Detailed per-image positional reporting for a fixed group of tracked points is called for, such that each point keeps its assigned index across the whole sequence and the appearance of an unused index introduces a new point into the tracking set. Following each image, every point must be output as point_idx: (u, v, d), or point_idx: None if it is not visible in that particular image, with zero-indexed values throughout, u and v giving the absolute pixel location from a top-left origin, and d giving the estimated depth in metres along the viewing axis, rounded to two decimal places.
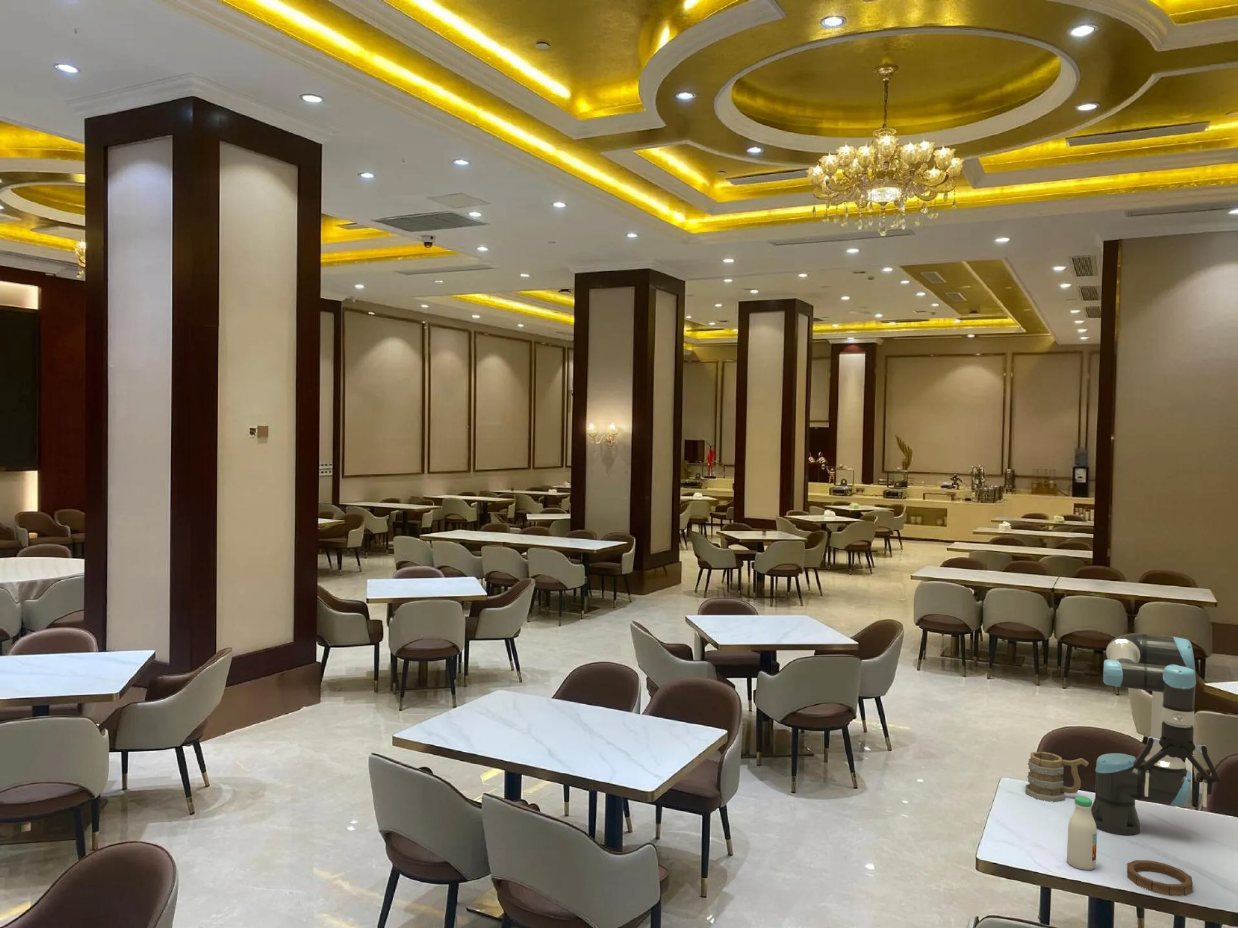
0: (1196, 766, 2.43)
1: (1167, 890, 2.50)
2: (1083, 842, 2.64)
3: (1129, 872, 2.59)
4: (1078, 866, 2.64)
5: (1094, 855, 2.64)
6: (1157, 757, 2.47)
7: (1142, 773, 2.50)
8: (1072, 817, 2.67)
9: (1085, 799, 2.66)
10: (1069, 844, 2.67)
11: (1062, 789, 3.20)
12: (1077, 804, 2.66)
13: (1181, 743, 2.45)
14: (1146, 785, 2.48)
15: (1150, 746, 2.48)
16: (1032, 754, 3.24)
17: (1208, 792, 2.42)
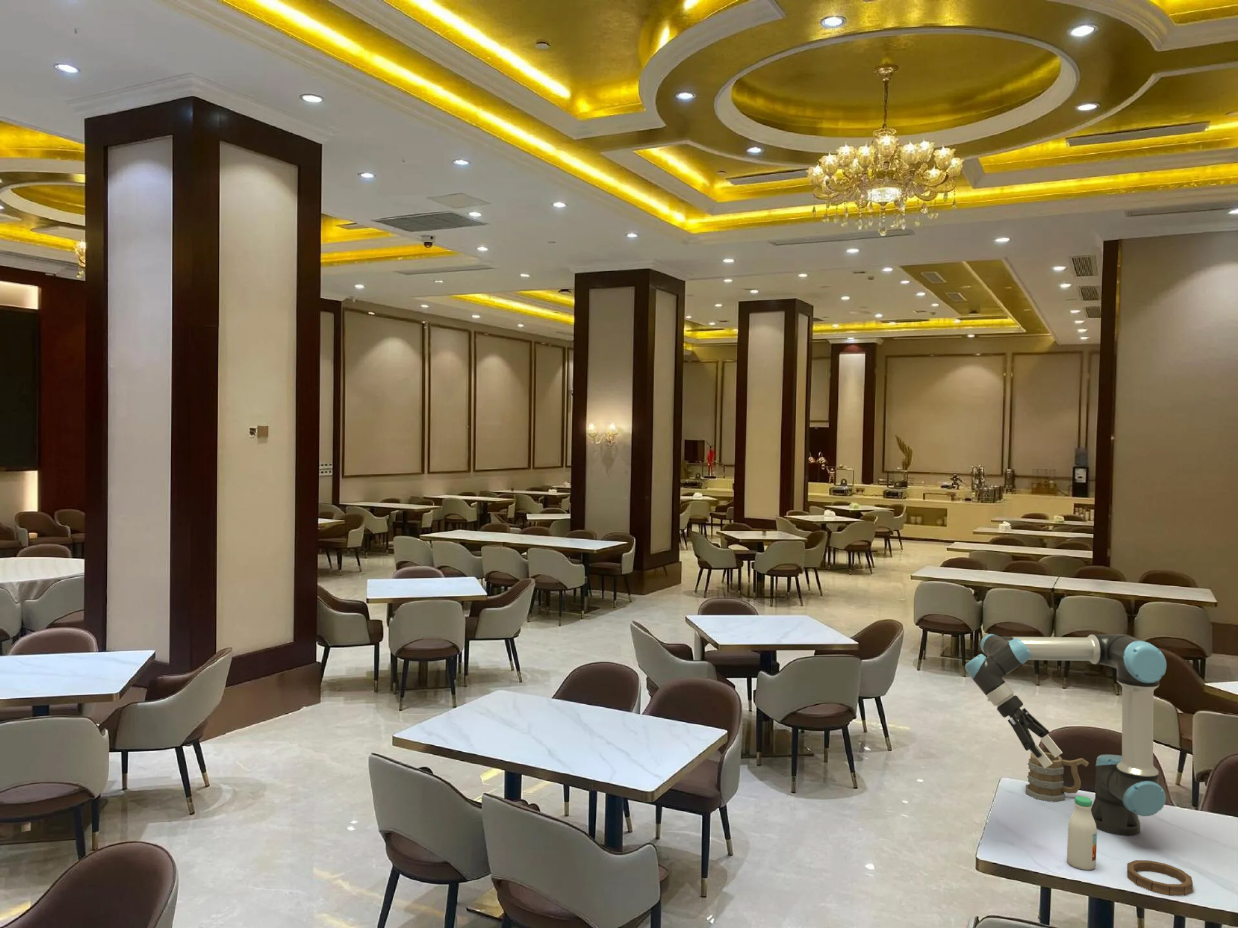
0: None
1: (1167, 890, 2.50)
2: (1083, 842, 2.64)
3: (1129, 872, 2.59)
4: (1078, 866, 2.64)
5: (1094, 855, 2.64)
6: None
7: None
8: (1072, 817, 2.67)
9: (1085, 799, 2.66)
10: (1069, 844, 2.67)
11: (1062, 789, 3.20)
12: (1077, 804, 2.66)
13: None
14: None
15: None
16: (1032, 754, 3.24)
17: None
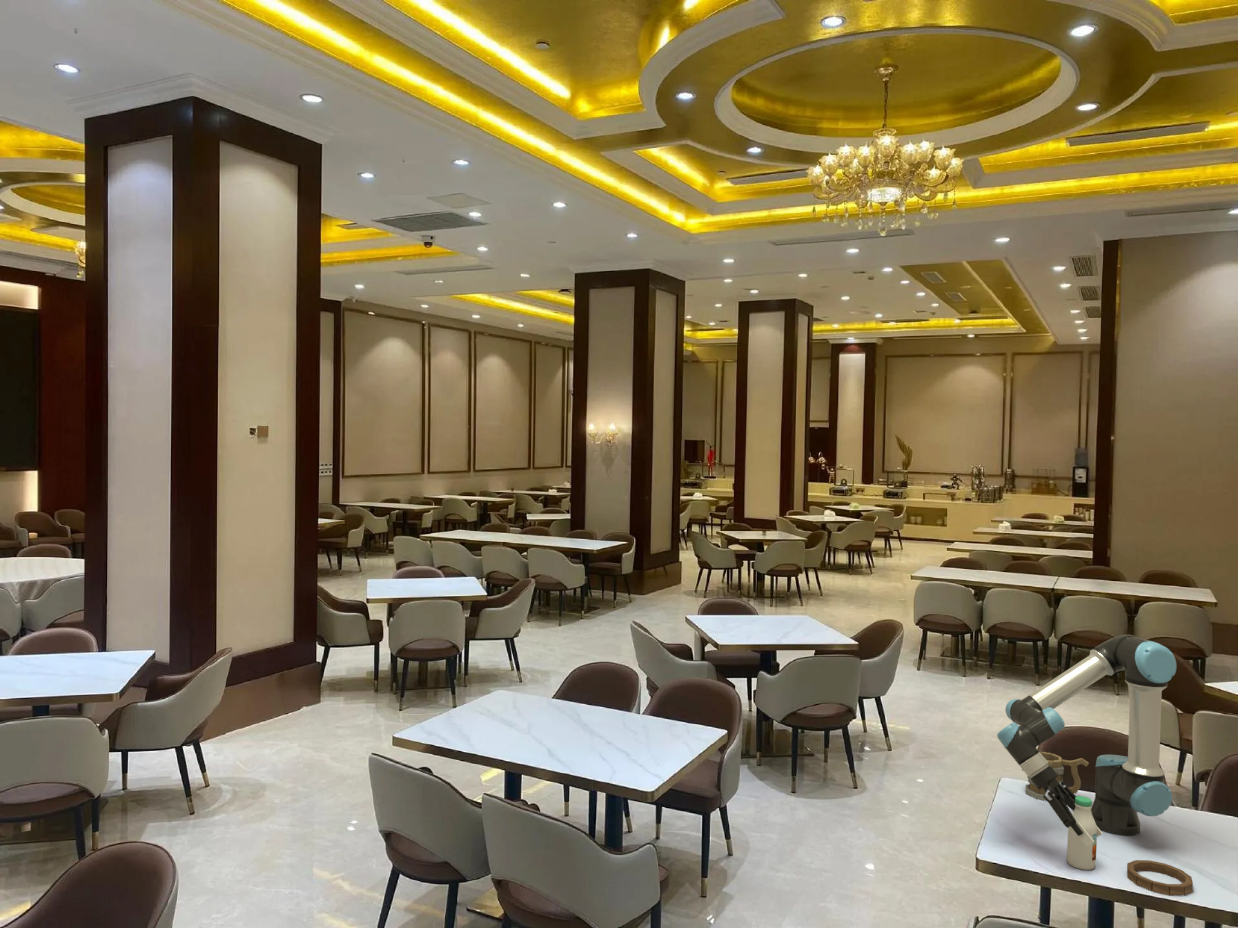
0: None
1: (1167, 890, 2.50)
2: None
3: (1129, 872, 2.59)
4: (1078, 866, 2.64)
5: (1094, 855, 2.64)
6: None
7: None
8: None
9: (1085, 799, 2.66)
10: (1069, 844, 2.67)
11: None
12: (1077, 804, 2.66)
13: None
14: None
15: None
16: None
17: None
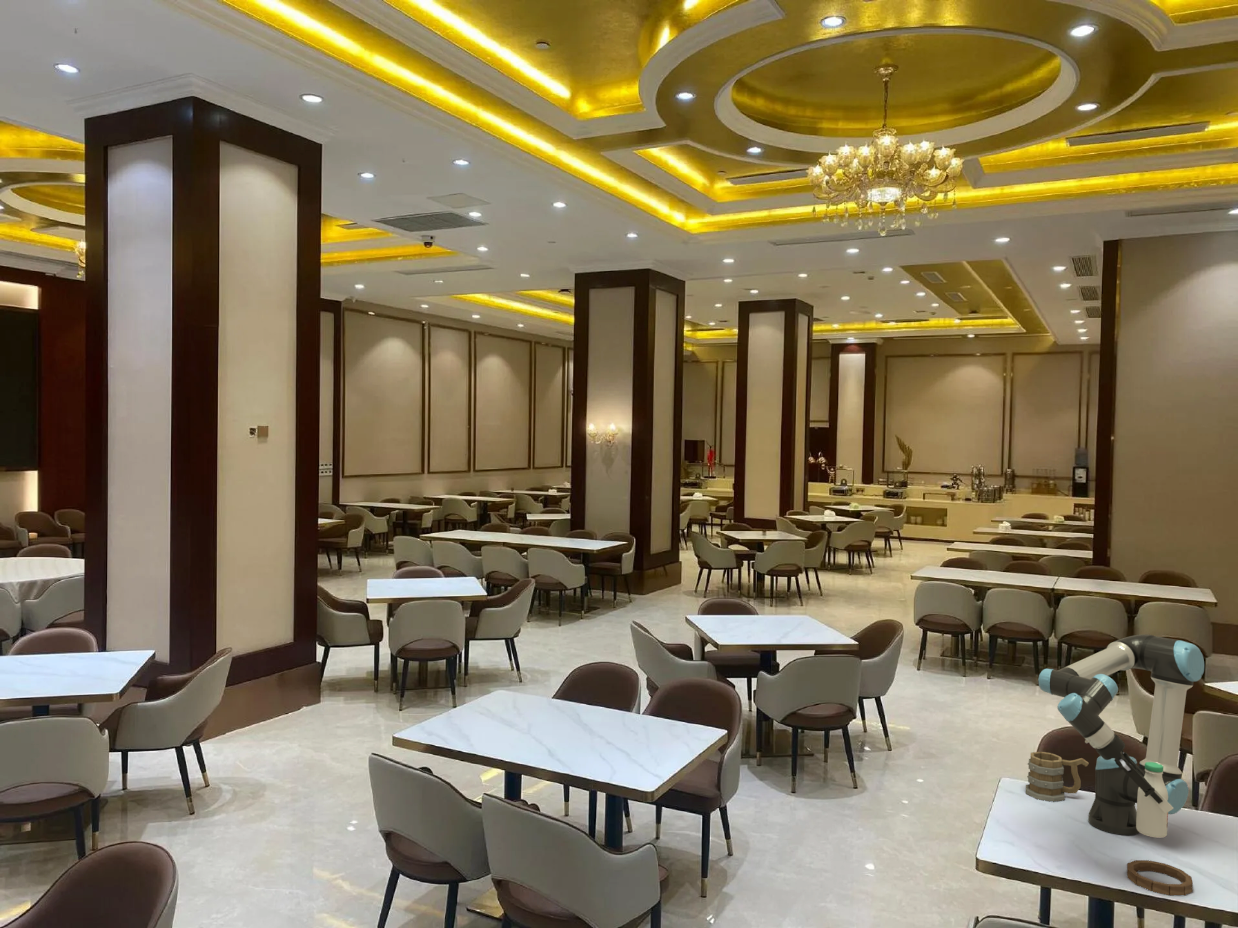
0: None
1: (1167, 890, 2.50)
2: (1160, 810, 2.54)
3: (1129, 872, 2.59)
4: (1155, 835, 2.55)
5: (1167, 821, 2.56)
6: None
7: None
8: None
9: (1156, 765, 2.57)
10: (1143, 813, 2.57)
11: (1062, 789, 3.20)
12: (1150, 771, 2.56)
13: None
14: None
15: None
16: (1032, 754, 3.24)
17: (1157, 801, 2.53)
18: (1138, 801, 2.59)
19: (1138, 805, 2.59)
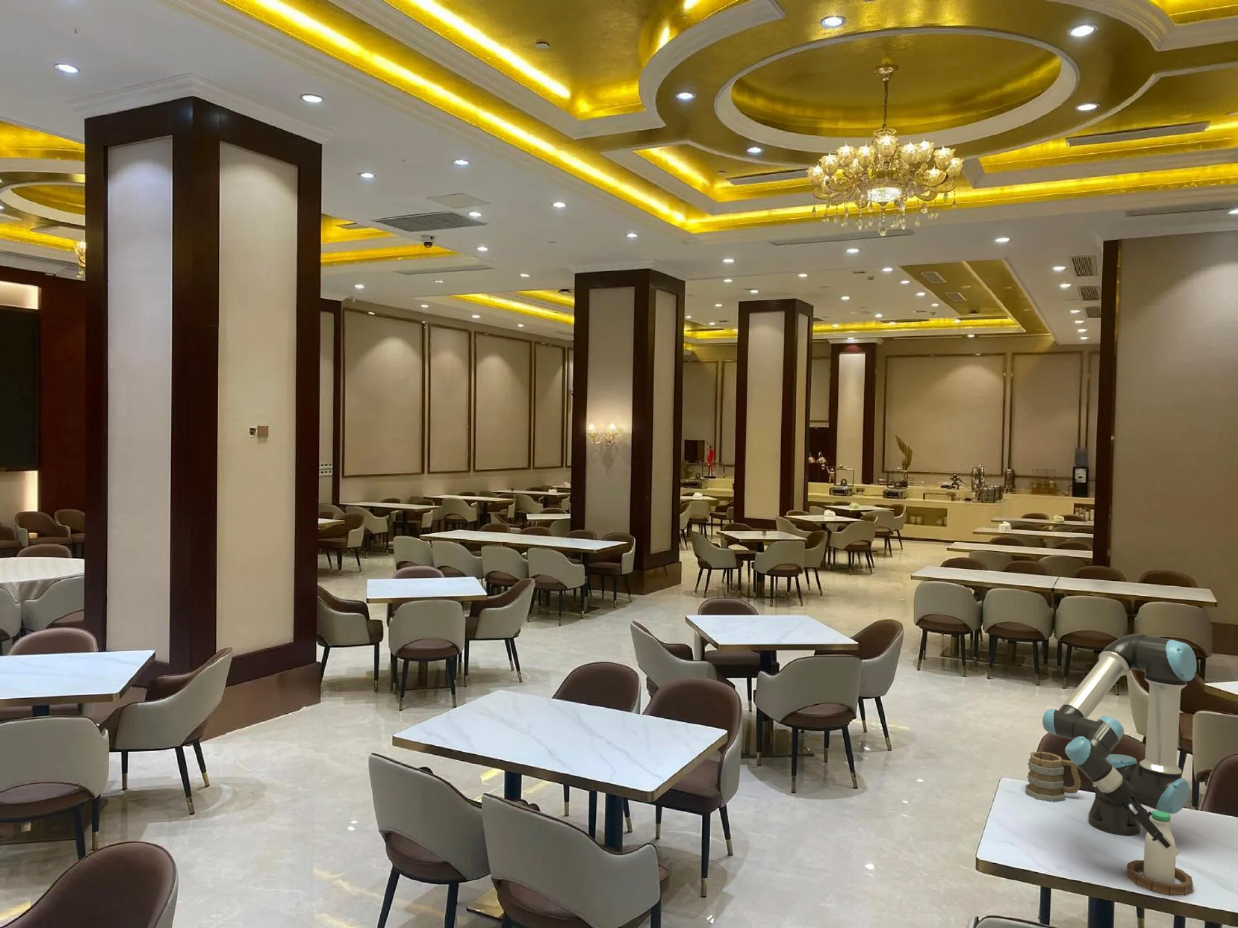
0: None
1: (1167, 890, 2.50)
2: (1168, 859, 2.54)
3: (1129, 872, 2.59)
4: None
5: (1174, 870, 2.56)
6: None
7: None
8: None
9: (1163, 814, 2.57)
10: (1151, 863, 2.56)
11: (1062, 789, 3.20)
12: (1158, 820, 2.56)
13: None
14: None
15: None
16: (1032, 754, 3.24)
17: (1165, 846, 2.51)
18: (1146, 851, 2.58)
19: (1146, 855, 2.58)
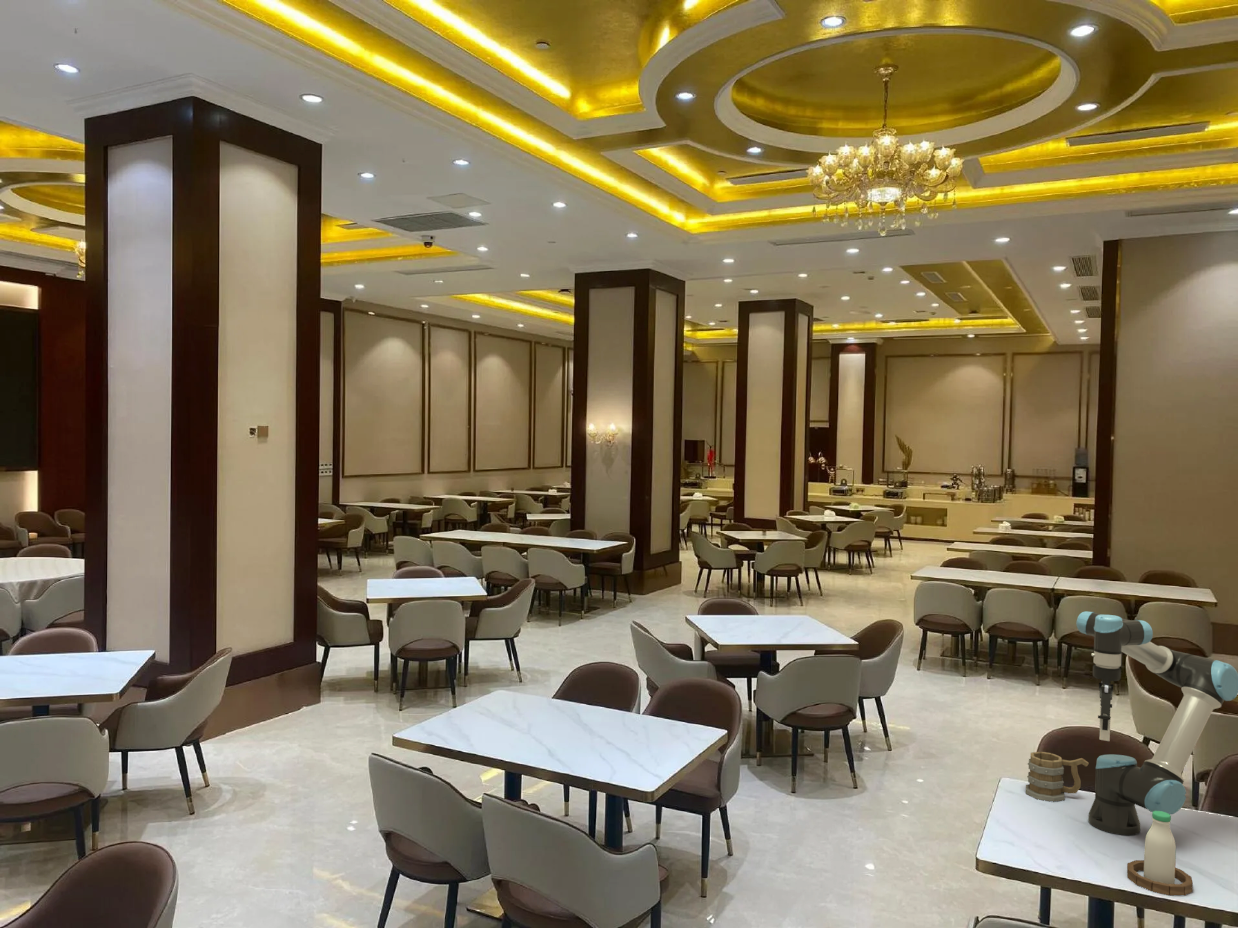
0: None
1: (1167, 890, 2.50)
2: (1169, 860, 2.54)
3: (1129, 872, 2.59)
4: None
5: None
6: None
7: None
8: (1153, 835, 2.56)
9: (1164, 814, 2.57)
10: (1152, 863, 2.56)
11: (1062, 789, 3.20)
12: (1159, 820, 2.56)
13: None
14: None
15: None
16: (1032, 754, 3.24)
17: None
18: (1146, 851, 2.58)
19: (1146, 855, 2.58)
